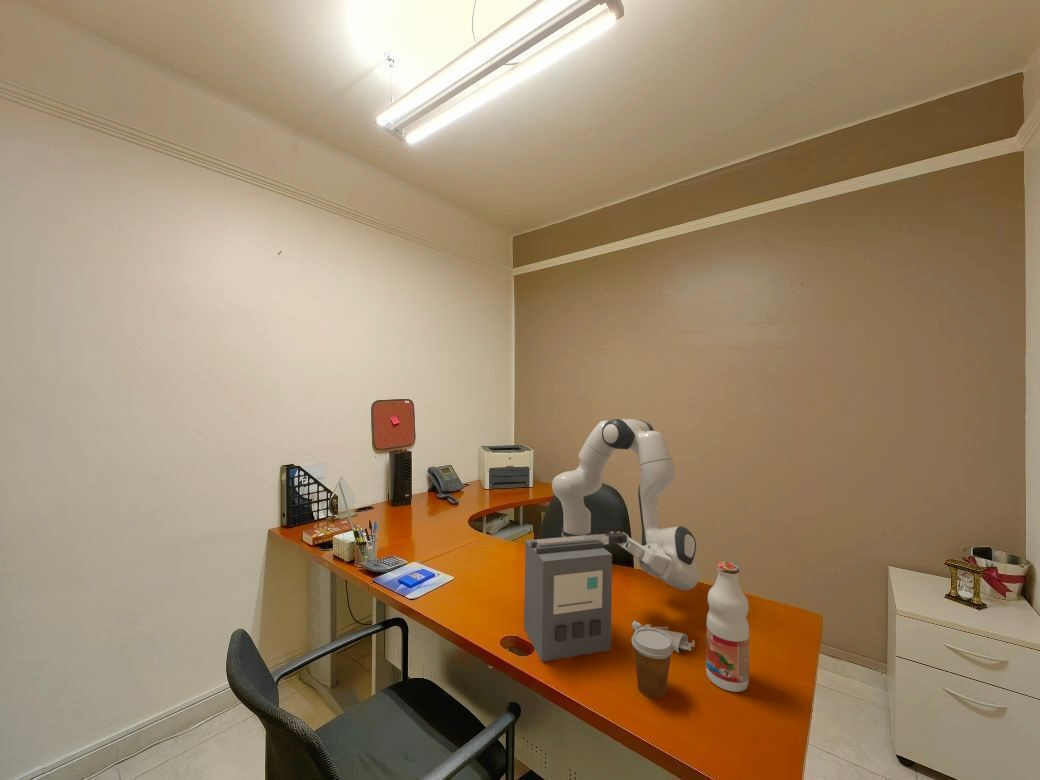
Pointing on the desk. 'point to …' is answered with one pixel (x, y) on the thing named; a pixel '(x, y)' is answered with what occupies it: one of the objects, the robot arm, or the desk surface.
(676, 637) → the woman figurine
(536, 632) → the grey grooved block
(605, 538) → the bar
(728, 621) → the fruit juice
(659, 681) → the disposable coffee cup
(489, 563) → the desk surface
